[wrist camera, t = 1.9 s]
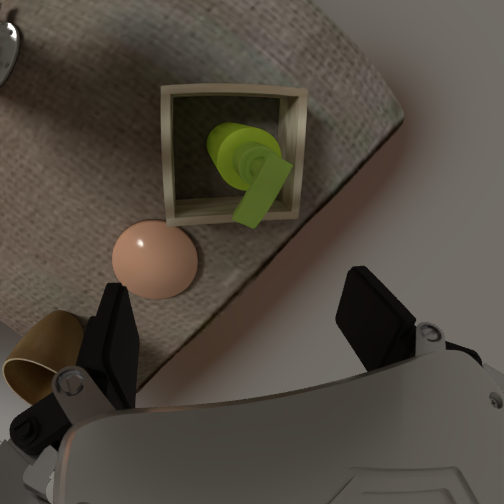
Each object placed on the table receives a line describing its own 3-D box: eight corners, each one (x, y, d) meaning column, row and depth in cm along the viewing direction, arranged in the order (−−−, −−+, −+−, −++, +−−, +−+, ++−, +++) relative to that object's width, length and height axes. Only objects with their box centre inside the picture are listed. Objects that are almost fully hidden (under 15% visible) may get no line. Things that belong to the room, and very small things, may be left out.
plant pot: (116, 336, 46) (106, 409, 32) (68, 359, 46) (54, 422, 32) (63, 278, 38) (29, 348, 25) (19, 310, 38) (-11, 372, 25)
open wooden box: (165, 91, 30) (160, 85, 24) (287, 92, 33) (307, 89, 27) (169, 207, 38) (166, 227, 32) (280, 201, 41) (298, 218, 35)
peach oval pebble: (106, 223, 36) (104, 226, 35) (194, 215, 39) (195, 218, 38) (122, 297, 42) (121, 301, 41) (200, 291, 45) (200, 295, 44)
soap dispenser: (195, 160, 35) (205, 211, 18) (219, 114, 33) (256, 117, 16) (233, 178, 38) (279, 242, 21) (258, 134, 36) (328, 160, 18)
